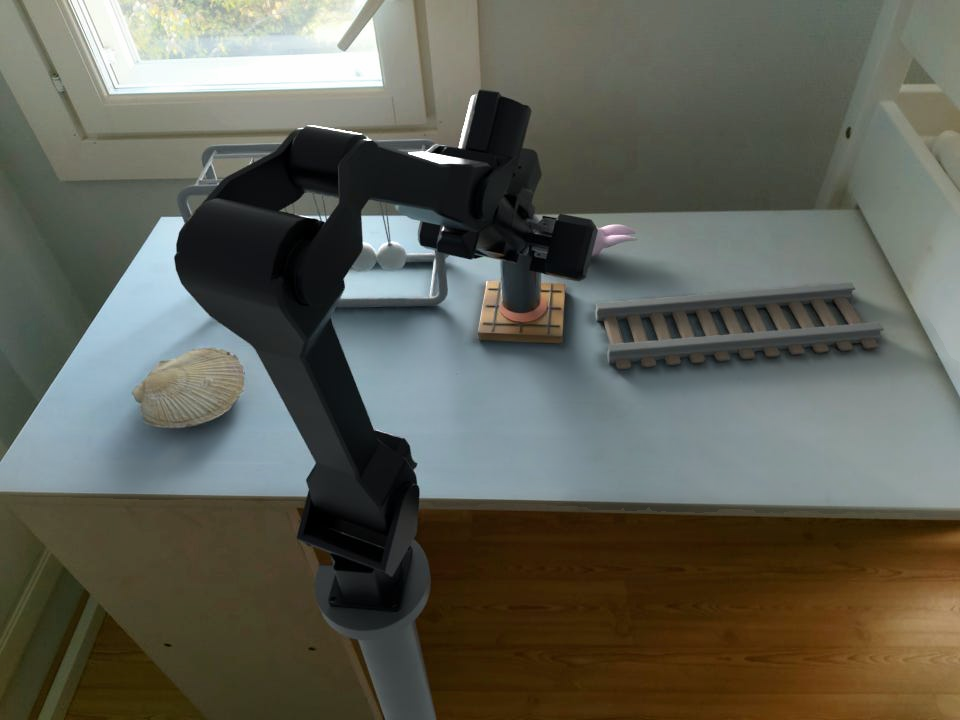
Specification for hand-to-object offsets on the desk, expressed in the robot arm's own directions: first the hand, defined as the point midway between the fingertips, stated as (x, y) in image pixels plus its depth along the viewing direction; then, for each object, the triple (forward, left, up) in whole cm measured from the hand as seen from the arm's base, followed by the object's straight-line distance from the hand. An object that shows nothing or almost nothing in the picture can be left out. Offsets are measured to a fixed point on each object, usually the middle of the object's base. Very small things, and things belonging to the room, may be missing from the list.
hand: (524, 249), depth 87 cm
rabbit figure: (+12, -6, -9) cm, 16 cm away
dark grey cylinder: (-1, 0, -7) cm, 7 cm away
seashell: (-18, +36, -9) cm, 41 cm away
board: (-1, 0, -9) cm, 9 cm away
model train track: (-2, -25, -9) cm, 27 cm away
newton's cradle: (+4, +25, -9) cm, 27 cm away
